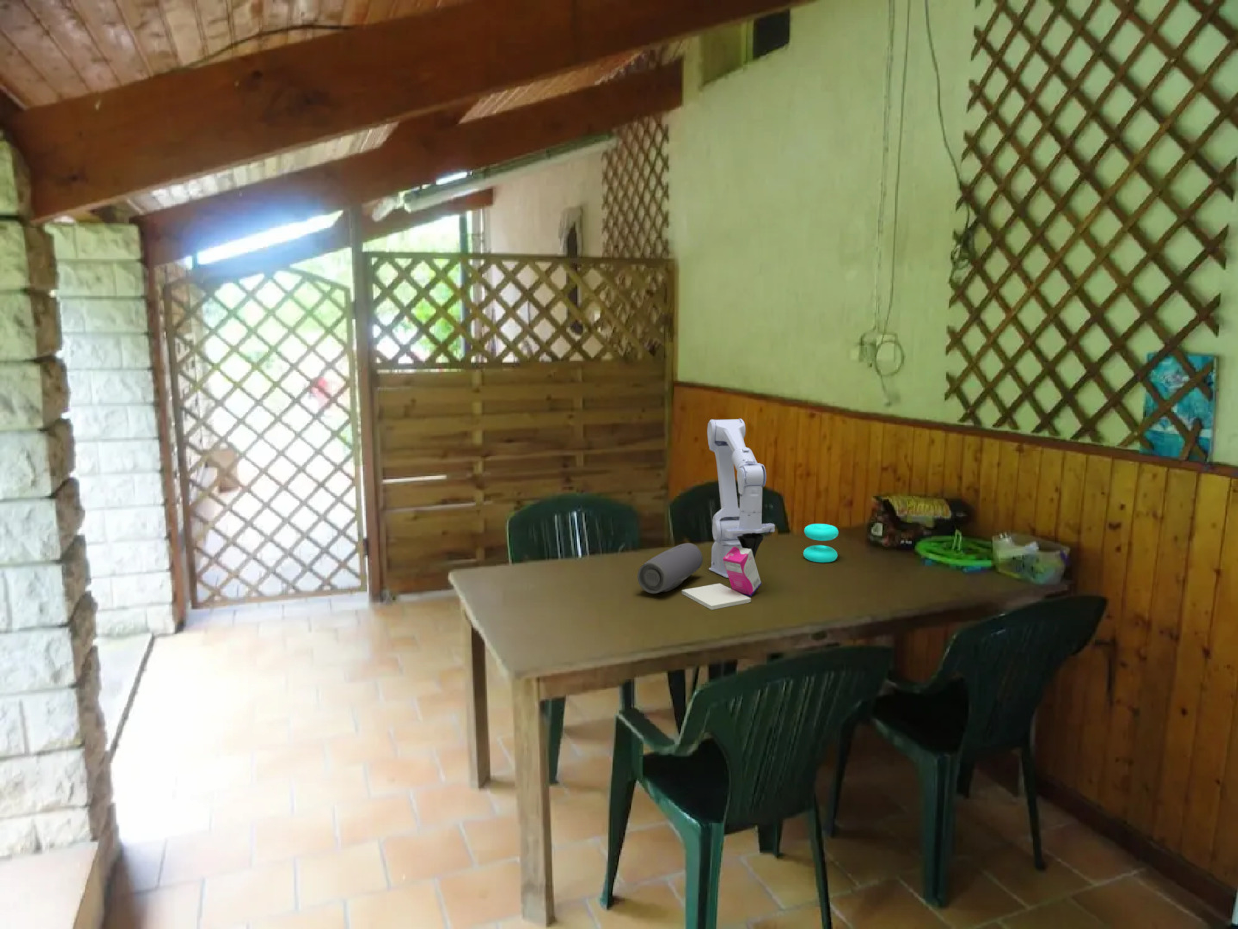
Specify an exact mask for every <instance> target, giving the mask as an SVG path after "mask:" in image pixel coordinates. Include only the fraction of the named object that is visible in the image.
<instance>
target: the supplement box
mask: <svg viewBox="0 0 1238 929" xmlns="http://www.w3.org/2000/svg"><path fill="white" fill-rule="evenodd" d="M755 560H756V559H754V557H753V553H752V550H751V549H747V548H741V547H736V546H734V547H733V548H732V549H731V550H730V551H729V552H728V553H727V554H726V556H725V557H724V558H723V561H724V564H725V568H726V571H727V574H728V577H729V578H728V579H729V583H730V586H731V587H730V588H731V589H732V590H735V591H737V592H739V593H741V594H743V595H745V596H747V597H749V598H751V597H752V596H753V595H754V594H755V593H756V591H757V590H758V589H759V588H760V586H761V585H762V581H761V578H760V574H759V571H758V567H757V565H756V561H755Z"/></svg>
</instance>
